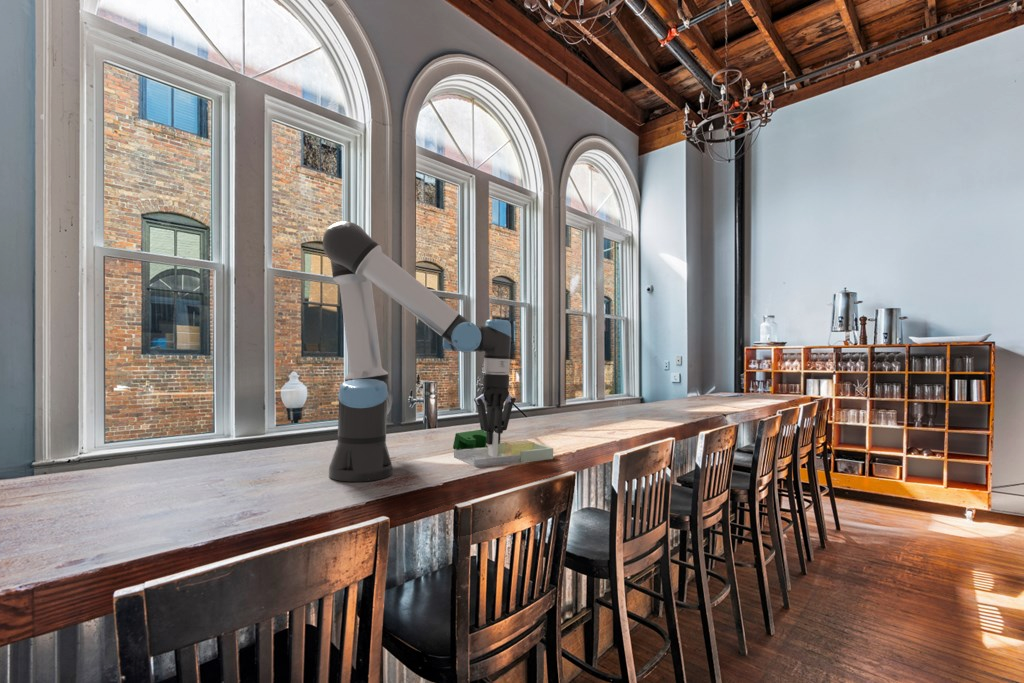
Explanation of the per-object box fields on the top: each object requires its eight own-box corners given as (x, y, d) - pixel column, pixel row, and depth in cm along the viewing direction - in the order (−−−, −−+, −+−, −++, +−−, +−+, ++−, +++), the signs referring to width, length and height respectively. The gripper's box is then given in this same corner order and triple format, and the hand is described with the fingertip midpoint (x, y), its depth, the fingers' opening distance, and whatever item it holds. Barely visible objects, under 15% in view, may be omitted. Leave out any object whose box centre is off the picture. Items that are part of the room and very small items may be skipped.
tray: (521, 465, 141) (521, 451, 141) (495, 455, 153) (495, 442, 153) (553, 461, 147) (553, 448, 147) (525, 452, 159) (525, 439, 159)
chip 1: (511, 458, 146) (511, 444, 146) (504, 455, 149) (504, 442, 149) (523, 457, 148) (523, 443, 148) (515, 454, 151) (516, 441, 151)
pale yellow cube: (523, 457, 148) (523, 443, 148) (515, 454, 151) (516, 441, 151) (534, 455, 150) (534, 442, 150) (526, 453, 153) (527, 440, 154)
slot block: (476, 470, 134) (476, 459, 134) (453, 459, 145) (454, 450, 145) (520, 464, 142) (520, 454, 142) (495, 455, 153) (496, 446, 153)
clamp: (467, 467, 156) (464, 443, 152) (454, 459, 159) (451, 435, 156) (495, 448, 163) (492, 425, 159) (482, 441, 167) (480, 418, 163)
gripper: (483, 374, 139) (479, 460, 138) (522, 374, 146) (518, 456, 145) (470, 372, 145) (466, 454, 144) (508, 372, 152) (504, 451, 152)
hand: (492, 455), depth 145 cm, fingers closed
